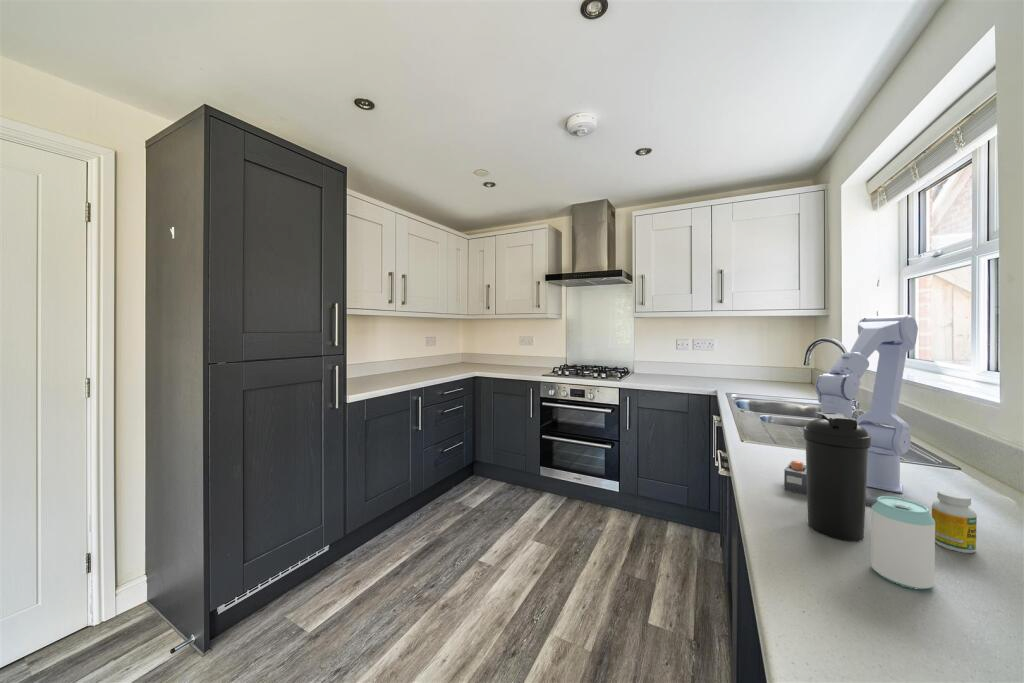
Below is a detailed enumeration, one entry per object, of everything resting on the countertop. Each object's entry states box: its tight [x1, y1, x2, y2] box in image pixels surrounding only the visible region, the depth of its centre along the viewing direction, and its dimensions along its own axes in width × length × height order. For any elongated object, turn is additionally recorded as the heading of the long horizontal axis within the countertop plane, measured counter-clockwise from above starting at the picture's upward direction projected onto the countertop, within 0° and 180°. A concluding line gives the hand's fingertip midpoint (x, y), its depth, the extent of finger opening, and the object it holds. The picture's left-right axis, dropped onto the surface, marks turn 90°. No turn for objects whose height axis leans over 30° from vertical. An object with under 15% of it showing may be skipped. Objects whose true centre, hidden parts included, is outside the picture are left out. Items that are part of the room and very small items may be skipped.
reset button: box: [790, 460, 804, 471], centre depth 96 cm, size 2×2×4 cm
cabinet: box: [783, 462, 807, 496], centre depth 96 cm, size 8×6×5 cm
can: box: [870, 495, 936, 590], centre depth 60 cm, size 7×7×12 cm
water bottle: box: [802, 411, 871, 542], centre depth 75 cm, size 10×10×23 cm
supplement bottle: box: [931, 489, 978, 554], centre depth 69 cm, size 5×5×10 cm
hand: (835, 479), depth 91 cm, fingers closed on carriage, 2 cm apart
